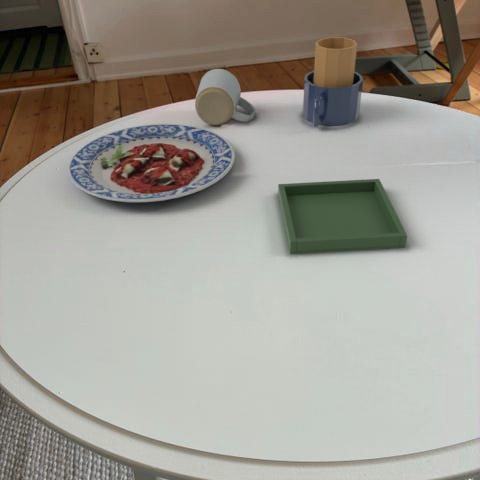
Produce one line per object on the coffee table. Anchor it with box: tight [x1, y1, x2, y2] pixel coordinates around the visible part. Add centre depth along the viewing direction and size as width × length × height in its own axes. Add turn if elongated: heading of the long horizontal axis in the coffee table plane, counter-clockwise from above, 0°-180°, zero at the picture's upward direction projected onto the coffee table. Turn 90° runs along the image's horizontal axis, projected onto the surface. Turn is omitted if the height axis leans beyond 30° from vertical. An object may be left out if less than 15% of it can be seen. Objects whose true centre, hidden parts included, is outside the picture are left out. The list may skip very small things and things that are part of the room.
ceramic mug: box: [194, 68, 257, 127], centre depth 97 cm, size 11×8×8 cm
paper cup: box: [313, 36, 358, 88], centre depth 94 cm, size 7×7×12 cm
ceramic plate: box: [67, 123, 236, 203], centre depth 84 cm, size 26×26×3 cm
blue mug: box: [302, 70, 364, 128], centre depth 95 cm, size 13×10×7 cm
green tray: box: [277, 178, 408, 255], centre depth 73 cm, size 15×15×2 cm
